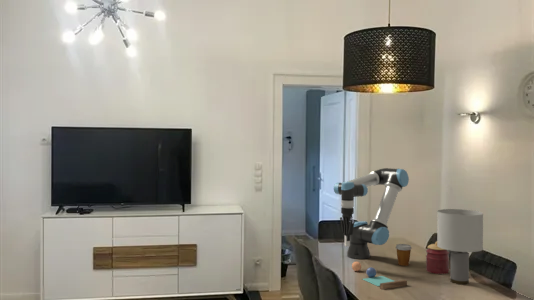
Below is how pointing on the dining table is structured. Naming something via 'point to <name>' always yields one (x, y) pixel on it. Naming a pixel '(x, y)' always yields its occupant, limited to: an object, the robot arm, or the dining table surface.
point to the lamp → (460, 239)
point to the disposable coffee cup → (403, 254)
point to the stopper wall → (393, 284)
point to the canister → (437, 259)
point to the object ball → (371, 272)
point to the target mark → (378, 280)
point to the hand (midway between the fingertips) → (347, 246)
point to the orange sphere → (356, 266)
